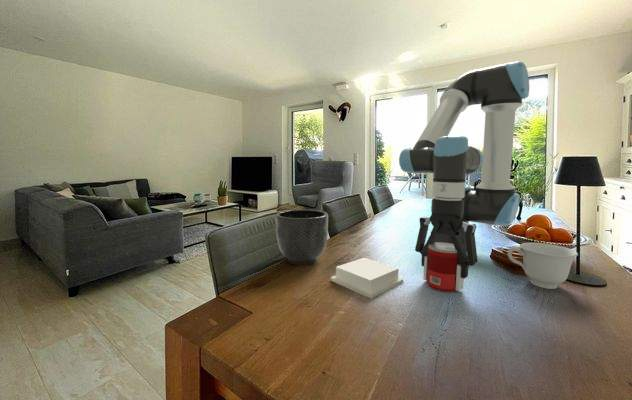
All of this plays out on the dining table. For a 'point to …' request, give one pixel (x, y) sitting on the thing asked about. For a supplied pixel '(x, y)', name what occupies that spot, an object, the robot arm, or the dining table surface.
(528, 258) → the teacup
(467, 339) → the dining table surface
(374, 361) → the dining table surface
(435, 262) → the canned food
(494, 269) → the dining table surface
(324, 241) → the planter
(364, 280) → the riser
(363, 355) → the dining table surface
